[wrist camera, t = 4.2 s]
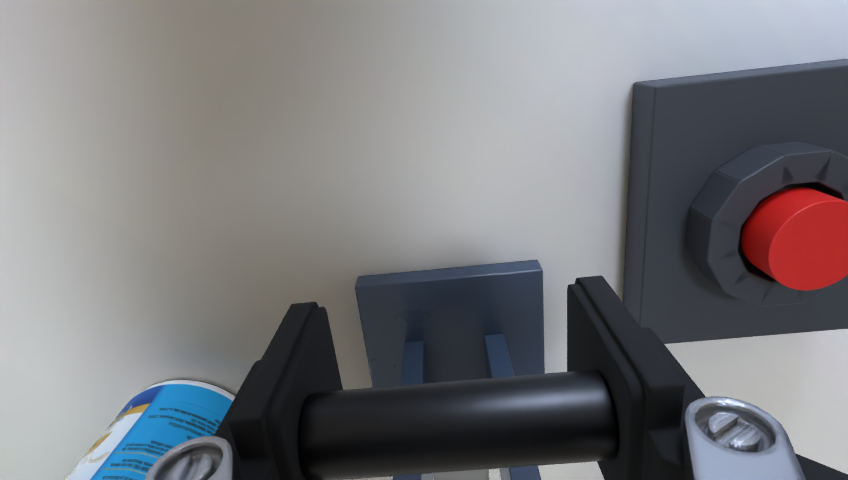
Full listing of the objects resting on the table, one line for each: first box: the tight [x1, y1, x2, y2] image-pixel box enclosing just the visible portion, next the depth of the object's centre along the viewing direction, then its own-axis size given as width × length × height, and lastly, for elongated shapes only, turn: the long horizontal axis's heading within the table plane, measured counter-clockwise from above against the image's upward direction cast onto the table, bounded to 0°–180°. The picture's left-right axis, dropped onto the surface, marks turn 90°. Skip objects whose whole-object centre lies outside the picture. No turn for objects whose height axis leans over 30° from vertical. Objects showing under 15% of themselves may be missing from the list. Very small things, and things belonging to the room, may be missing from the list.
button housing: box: [623, 59, 848, 344], centre depth 21 cm, size 12×10×4 cm
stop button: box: [741, 187, 848, 290], centre depth 19 cm, size 4×4×2 cm
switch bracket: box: [355, 260, 545, 480], centre depth 20 cm, size 11×9×13 cm
